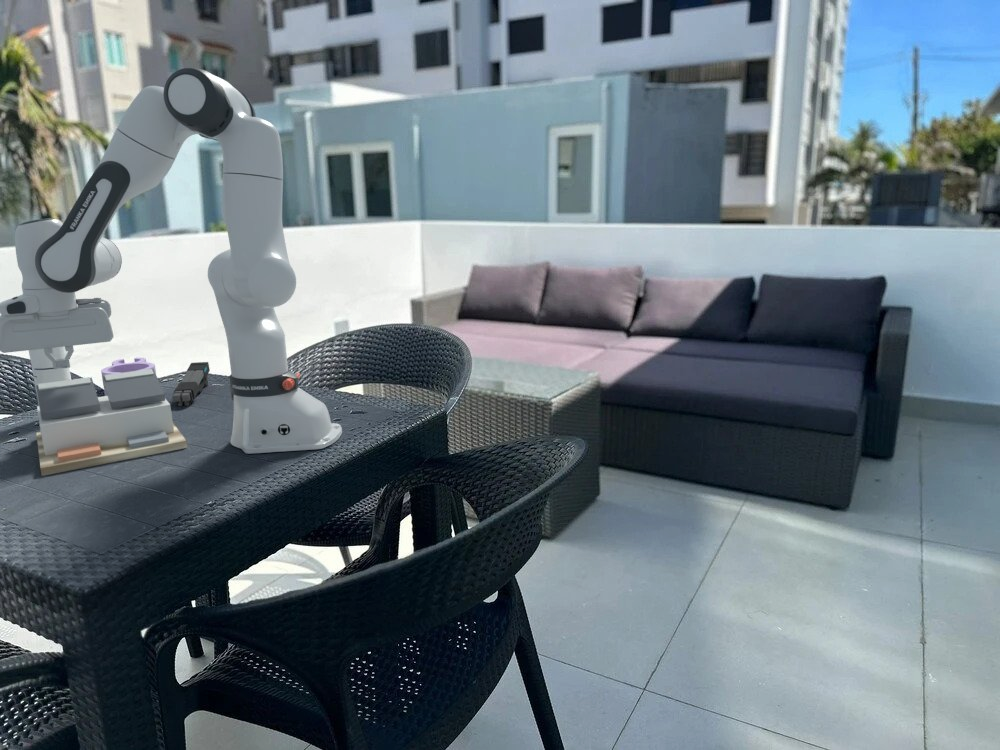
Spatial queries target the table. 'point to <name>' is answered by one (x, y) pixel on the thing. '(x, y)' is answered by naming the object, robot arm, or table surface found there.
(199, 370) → the gun
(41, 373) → the cylindrical container
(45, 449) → the switch unit
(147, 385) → the right rocker
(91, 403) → the left rocker
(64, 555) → the table surface
